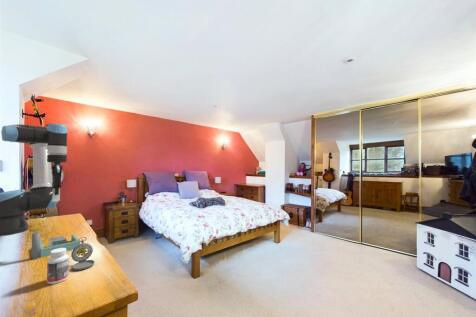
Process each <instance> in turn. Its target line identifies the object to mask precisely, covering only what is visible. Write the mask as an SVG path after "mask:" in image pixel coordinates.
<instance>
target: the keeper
mask: <svg viewBox="0 0 476 317" xmlns="http://www.w3.org/2000/svg"><path fill="white" fill-rule="evenodd" d="M78 239H79V238H78V237H77V235H76V234H75V233H71V240H70V241H71V242H67V243H65V244H60V245H56V246H51V247H49V246H47V247H44V244H43V241H42V240H41V232H39V231H38V230H35V231H33V233H32V234H31V260H37V259H39V258H43V257H48V256H50V252H51V251H52V250H54V249H58V248H66V252H68V251H73V249H74V248H75V247H76V246H78V245H79V244H81V242H79V241H81V240H80V239H79V241H78Z"/></svg>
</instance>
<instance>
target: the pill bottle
mask: <svg viewBox="0 0 476 317" xmlns="http://www.w3.org/2000/svg"><path fill="white" fill-rule="evenodd" d="M49 256H50V257H49V258H48V259H47V261H46V262H47V264H46V266H47V267H46V268H47V269H46V283H47V284H48V285H55V284H59V283H62V282H64V281H65V280H67V279H68V278H69V272H70V271H69V270H70V269H69V267H70V263H69V262H70V256H69V255H68V254H67V251H66V248H58V249H54V250H52V251H51V252H50V255H49Z"/></svg>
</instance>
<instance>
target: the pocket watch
mask: <svg viewBox="0 0 476 317" xmlns="http://www.w3.org/2000/svg"><path fill="white" fill-rule="evenodd" d="M82 238H85V239H82ZM80 239H81V240H80ZM79 240H80V241H79ZM78 241H79V242H80V244H79V245H78V246H76V247H75V248H74V249H73V250H71V254H70V255H71V256H70V257H71V259H72V260H73V261H74V262H76V263H74V264H73V265H72V267H71V268H72V269H73V270H74V271H81V270H86V269H89V268H91V267H92V266H93V265H94V264H95V260H94V259H89V258H90V257H91V256H92V254H93V252H94V248H93V246H92V245H91V244H90V243H87V242H85V241H87V237H86V236H82V237H80V238H78ZM84 242H85V243H84Z"/></svg>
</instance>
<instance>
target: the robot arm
mask: <svg viewBox="0 0 476 317" xmlns="http://www.w3.org/2000/svg"><path fill="white" fill-rule="evenodd" d="M68 132H69V131H68V126H67V125H66V124H61V123H49V124H47V126H39V125H30V124H23V123H22V124H19V123H17V124H10V125H9V124H8V125H3V126H2V127H1V131H0V133H1V134H0V135H1V141H4V142H10V143H21V144H29V147H30V148H31V149H32V171H33V172H32V179H33V180H32V182H33V184H32V186H31V187H30V188H29V191H26V189H24V188H23V189H15V190H8V191H3V192H0V237H1V236H2V235H3V236H9V235H15V234H19V233H23V232H25V231H28V230H29V223H28V220H27V219H26V216H25V213H26V212H32V211H39V210H47V209H53V208H55V207H56V206H57V204H58V202H60V201H61V188H62V174H63V165H61V163H66V162H67V160H68V158H67V154H68ZM52 163H53V164H52Z"/></svg>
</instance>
